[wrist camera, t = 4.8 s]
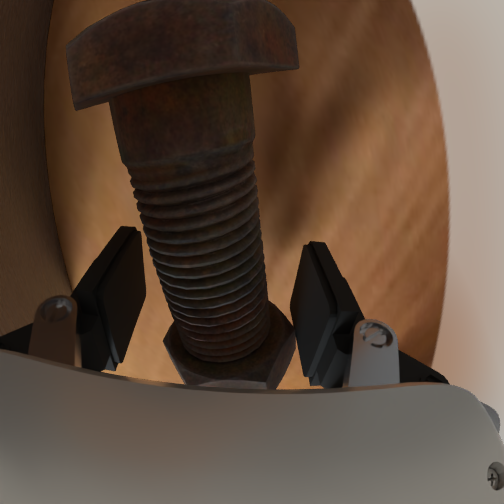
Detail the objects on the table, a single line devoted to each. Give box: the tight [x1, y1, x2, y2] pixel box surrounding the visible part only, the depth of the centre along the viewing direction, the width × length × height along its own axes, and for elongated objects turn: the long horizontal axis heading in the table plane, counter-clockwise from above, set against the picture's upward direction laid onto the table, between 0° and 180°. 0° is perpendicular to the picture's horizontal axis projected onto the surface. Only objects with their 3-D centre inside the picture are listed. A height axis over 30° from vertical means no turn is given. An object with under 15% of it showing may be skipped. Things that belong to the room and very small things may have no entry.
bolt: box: [66, 0, 299, 390], centre depth 9 cm, size 6×5×15 cm
